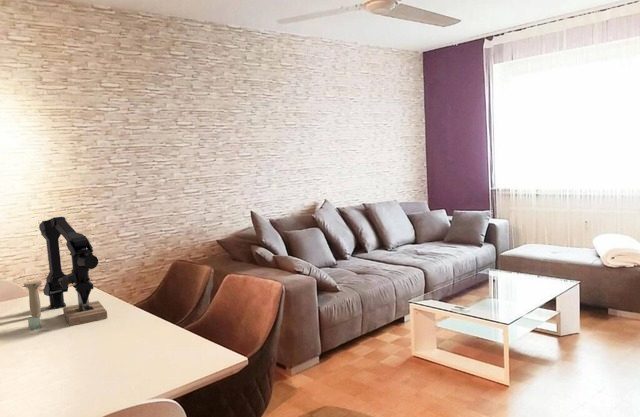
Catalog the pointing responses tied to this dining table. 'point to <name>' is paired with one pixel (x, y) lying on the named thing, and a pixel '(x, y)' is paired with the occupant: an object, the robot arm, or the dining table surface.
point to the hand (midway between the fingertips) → (83, 302)
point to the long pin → (83, 306)
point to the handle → (34, 297)
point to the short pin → (34, 323)
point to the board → (84, 313)
